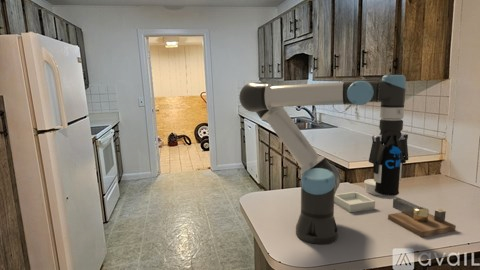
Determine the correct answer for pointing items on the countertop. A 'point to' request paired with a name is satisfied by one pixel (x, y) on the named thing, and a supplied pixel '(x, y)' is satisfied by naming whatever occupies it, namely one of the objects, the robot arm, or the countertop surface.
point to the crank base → (424, 223)
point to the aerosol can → (390, 171)
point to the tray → (354, 202)
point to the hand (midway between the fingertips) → (387, 180)
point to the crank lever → (411, 209)
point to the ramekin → (370, 186)
